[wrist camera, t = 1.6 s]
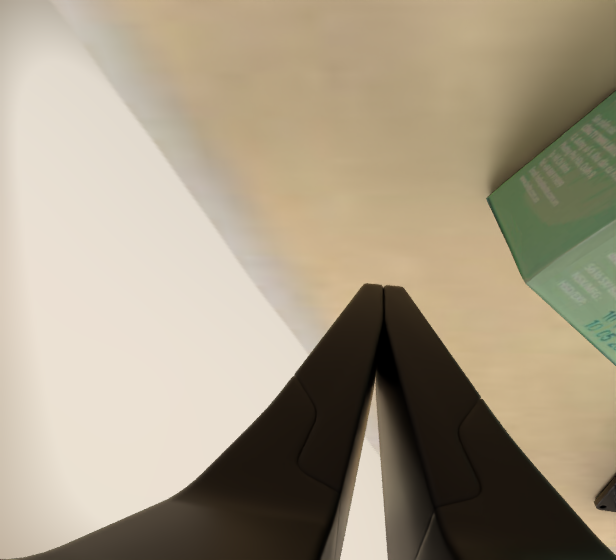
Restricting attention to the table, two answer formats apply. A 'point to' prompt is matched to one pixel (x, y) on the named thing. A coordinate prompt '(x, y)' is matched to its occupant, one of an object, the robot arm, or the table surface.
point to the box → (569, 225)
